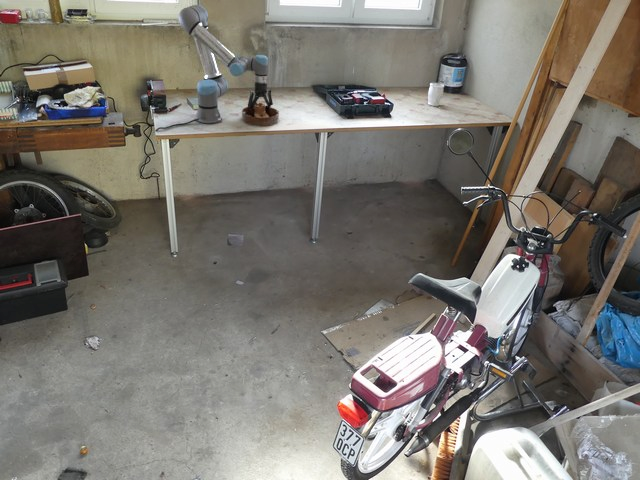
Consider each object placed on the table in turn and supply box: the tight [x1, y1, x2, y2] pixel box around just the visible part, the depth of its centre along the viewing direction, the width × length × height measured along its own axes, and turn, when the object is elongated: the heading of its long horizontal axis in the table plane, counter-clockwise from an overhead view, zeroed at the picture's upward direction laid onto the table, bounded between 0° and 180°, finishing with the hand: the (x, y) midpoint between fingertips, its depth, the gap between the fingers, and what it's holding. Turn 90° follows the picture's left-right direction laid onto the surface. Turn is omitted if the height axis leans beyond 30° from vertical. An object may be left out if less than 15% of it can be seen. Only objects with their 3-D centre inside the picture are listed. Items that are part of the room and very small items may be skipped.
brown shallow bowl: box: [241, 105, 280, 127], centre depth 335 cm, size 23×23×6 cm
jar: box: [427, 82, 445, 107], centre depth 391 cm, size 11×10×15 cm
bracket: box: [254, 101, 269, 118], centre depth 334 cm, size 18×8×7 cm, turn 19°
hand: (260, 117), depth 336 cm, fingers closed on bracket, 9 cm apart
